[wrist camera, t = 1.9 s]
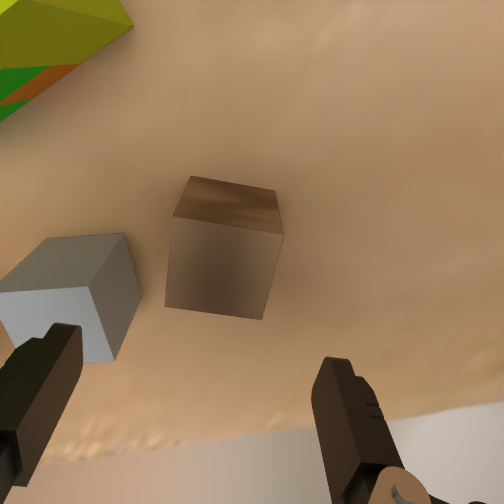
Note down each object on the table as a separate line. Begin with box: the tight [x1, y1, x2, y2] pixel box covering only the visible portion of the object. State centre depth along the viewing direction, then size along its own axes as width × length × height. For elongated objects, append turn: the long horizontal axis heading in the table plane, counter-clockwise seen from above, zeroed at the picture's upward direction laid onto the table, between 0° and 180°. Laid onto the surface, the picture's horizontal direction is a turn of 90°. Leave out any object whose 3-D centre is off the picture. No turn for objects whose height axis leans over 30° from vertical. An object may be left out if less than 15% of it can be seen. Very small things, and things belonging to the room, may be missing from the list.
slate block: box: [0, 233, 142, 363], centre depth 21 cm, size 5×5×6 cm
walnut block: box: [165, 176, 284, 320], centre depth 20 cm, size 5×5×6 cm
